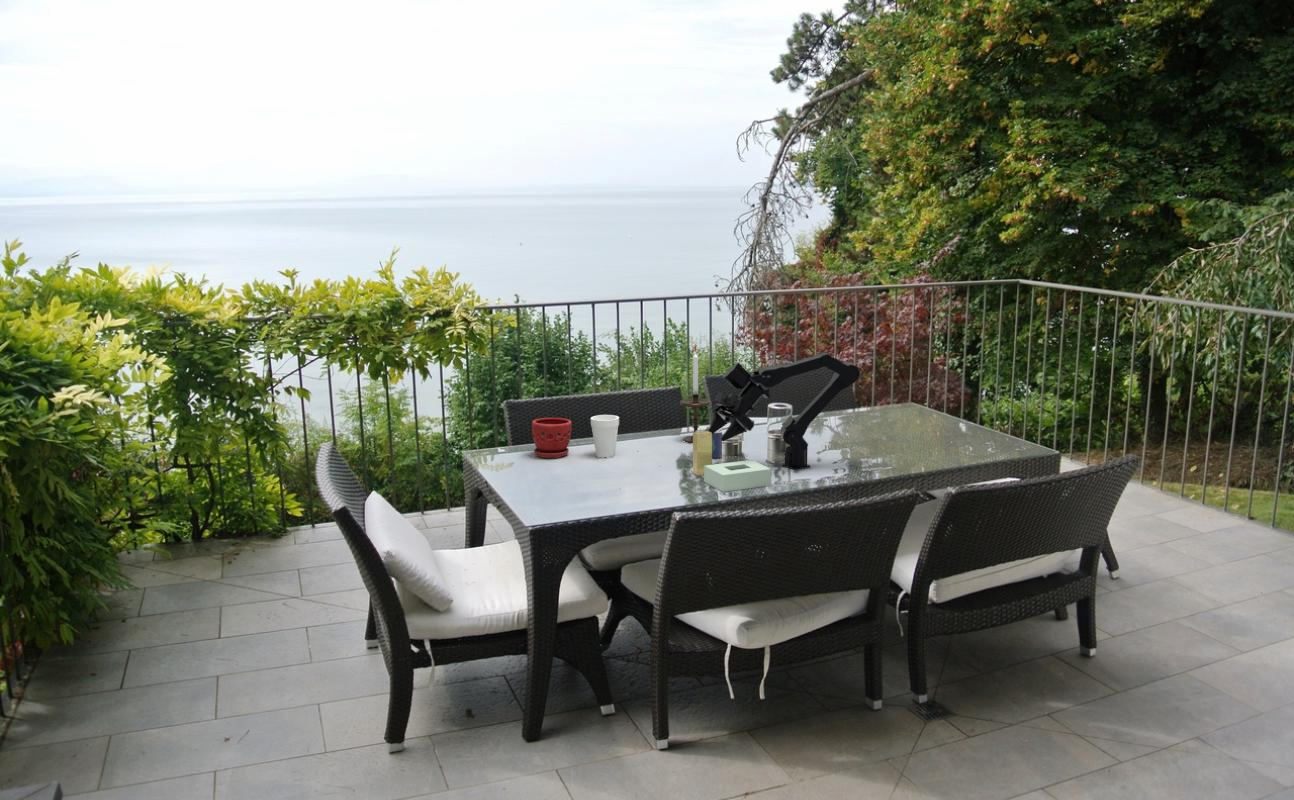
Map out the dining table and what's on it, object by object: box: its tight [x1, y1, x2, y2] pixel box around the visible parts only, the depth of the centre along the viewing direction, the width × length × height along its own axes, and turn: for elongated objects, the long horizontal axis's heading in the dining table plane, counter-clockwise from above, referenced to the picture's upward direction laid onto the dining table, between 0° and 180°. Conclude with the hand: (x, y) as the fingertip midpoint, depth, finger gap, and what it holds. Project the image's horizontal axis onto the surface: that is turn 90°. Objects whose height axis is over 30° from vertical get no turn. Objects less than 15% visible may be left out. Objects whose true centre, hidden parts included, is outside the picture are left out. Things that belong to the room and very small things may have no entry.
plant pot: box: [531, 417, 572, 459], centre depth 319 cm, size 13×13×12 cm
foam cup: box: [590, 414, 620, 458], centre depth 318 cm, size 10×9×13 cm
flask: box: [695, 425, 723, 460], centre depth 313 cm, size 9×3×11 cm, turn 78°
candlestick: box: [679, 343, 712, 444], centre depth 335 cm, size 11×11×35 cm
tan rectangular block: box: [692, 430, 713, 476], centre depth 294 cm, size 5×3×13 cm, turn 113°
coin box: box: [703, 459, 772, 493], centre depth 283 cm, size 16×12×5 cm
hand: (715, 437), depth 295 cm, fingers open, 9 cm apart
